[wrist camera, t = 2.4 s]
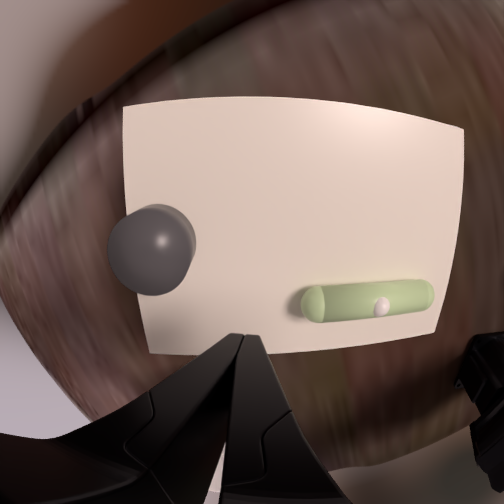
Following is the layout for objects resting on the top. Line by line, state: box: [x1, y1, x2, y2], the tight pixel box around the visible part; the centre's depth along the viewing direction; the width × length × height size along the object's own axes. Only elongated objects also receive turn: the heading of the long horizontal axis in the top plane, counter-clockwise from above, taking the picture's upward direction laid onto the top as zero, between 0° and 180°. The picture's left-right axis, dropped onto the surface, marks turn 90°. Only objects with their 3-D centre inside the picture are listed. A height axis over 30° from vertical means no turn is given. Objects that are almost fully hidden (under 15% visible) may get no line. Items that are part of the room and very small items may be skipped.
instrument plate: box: [107, 97, 464, 355], centre depth 13 cm, size 18×13×3 cm
